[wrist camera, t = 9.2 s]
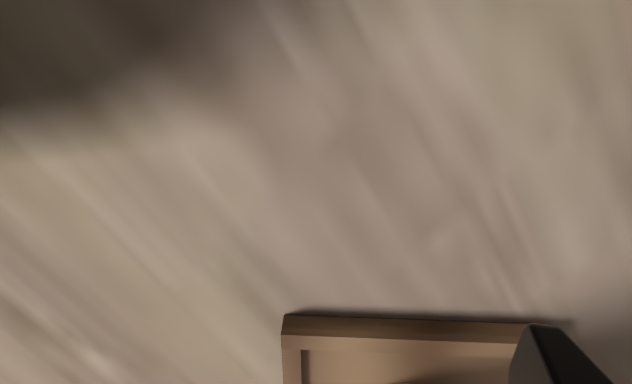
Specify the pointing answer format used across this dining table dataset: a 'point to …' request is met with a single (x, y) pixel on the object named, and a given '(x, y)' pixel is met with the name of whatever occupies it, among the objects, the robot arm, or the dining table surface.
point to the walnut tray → (395, 351)
